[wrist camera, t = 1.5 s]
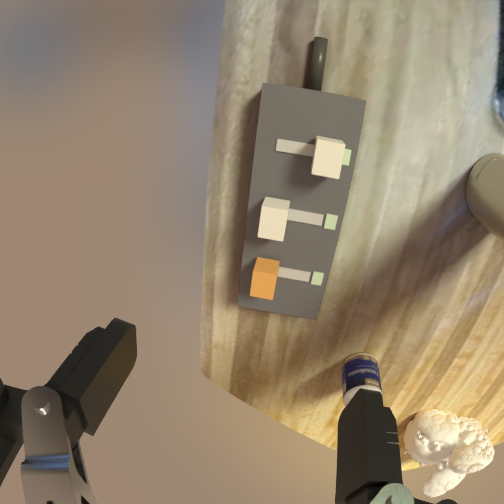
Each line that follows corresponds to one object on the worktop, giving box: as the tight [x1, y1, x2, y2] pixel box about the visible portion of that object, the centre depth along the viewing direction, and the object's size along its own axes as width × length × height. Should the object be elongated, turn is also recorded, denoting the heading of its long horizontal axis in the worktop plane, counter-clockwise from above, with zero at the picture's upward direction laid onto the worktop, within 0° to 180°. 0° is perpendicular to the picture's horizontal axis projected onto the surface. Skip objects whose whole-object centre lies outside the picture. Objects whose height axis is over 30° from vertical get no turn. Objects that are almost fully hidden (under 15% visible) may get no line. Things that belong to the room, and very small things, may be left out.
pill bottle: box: [342, 353, 382, 406], centre depth 41 cm, size 6×6×10 cm
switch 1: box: [258, 197, 290, 242], centre depth 32 cm, size 2×3×3 cm
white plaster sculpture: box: [403, 409, 495, 498], centre depth 46 cm, size 19×20×20 cm
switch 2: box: [250, 257, 280, 300], centre depth 35 cm, size 2×3×3 cm
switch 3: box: [311, 136, 345, 179], centre depth 28 cm, size 2×3×3 cm
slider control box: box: [237, 37, 366, 320], centre depth 33 cm, size 32×10×4 cm, turn 173°
